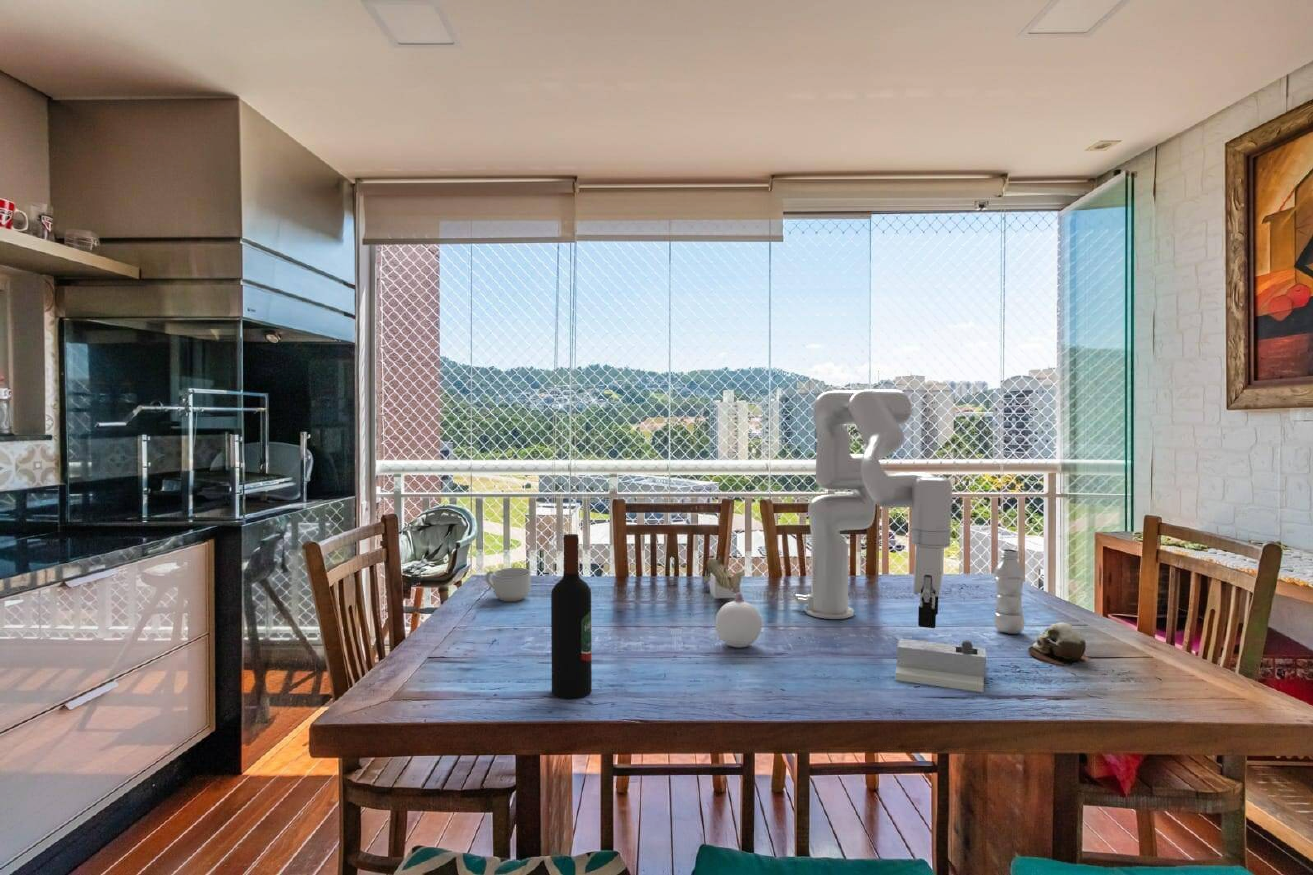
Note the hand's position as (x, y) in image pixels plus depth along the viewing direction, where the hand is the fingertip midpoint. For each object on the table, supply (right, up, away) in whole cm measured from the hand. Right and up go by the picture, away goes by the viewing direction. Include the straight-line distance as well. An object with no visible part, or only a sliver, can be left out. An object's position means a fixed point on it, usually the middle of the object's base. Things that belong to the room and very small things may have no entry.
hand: (928, 620), depth 148 cm
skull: (+32, -11, +10) cm, 35 cm away
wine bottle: (-72, -11, -10) cm, 73 cm away
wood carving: (-36, -9, +62) cm, 72 cm away
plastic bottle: (+30, -10, +27) cm, 41 cm away
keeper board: (+2, -11, -1) cm, 11 cm away
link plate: (+2, -9, -1) cm, 10 cm away
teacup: (-99, -9, +61) cm, 116 cm away
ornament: (-37, -11, +17) cm, 42 cm away
